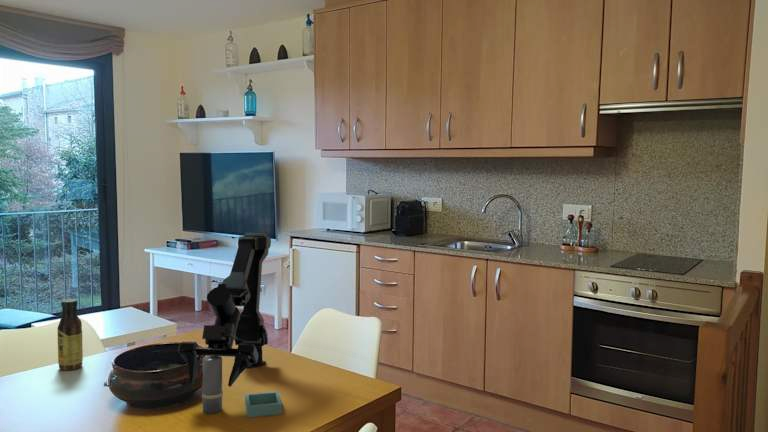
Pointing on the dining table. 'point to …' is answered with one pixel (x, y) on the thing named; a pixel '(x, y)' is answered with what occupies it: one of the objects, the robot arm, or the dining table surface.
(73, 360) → the sauce bottle
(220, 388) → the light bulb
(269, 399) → the frame
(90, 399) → the dining table surface
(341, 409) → the dining table surface
